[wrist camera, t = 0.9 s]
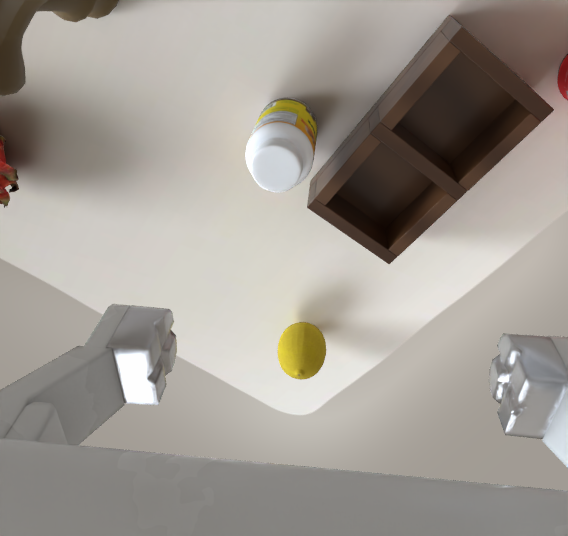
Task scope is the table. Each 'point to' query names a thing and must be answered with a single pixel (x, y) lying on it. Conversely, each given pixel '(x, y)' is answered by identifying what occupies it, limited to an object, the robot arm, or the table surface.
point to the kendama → (15, 19)
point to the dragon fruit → (6, 176)
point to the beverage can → (563, 77)
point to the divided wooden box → (425, 143)
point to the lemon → (301, 350)
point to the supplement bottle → (282, 145)
